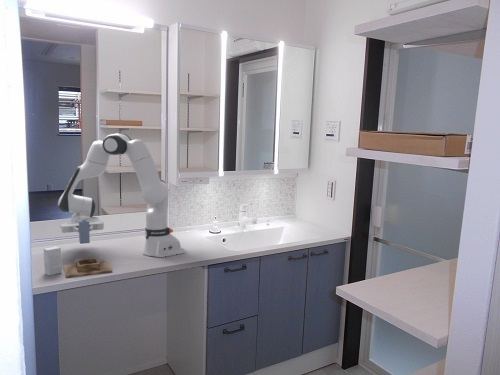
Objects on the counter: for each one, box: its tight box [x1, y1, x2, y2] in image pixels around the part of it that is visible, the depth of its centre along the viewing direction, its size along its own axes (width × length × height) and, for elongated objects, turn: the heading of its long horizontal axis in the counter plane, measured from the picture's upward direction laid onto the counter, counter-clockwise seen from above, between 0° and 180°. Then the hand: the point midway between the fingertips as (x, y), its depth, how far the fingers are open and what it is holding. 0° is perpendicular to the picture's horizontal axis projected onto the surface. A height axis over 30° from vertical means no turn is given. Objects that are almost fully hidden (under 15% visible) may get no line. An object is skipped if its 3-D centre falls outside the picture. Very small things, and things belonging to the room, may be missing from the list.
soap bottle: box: [78, 217, 91, 245], centre depth 207 cm, size 4×4×13 cm
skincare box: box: [43, 245, 62, 277], centre depth 190 cm, size 6×4×12 cm
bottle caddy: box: [63, 257, 113, 279], centre depth 197 cm, size 20×16×4 cm
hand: (84, 230), depth 206 cm, fingers closed on soap bottle, 4 cm apart
